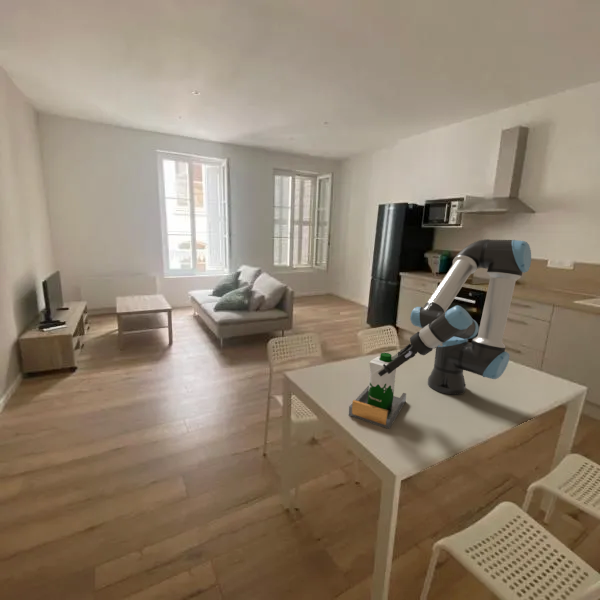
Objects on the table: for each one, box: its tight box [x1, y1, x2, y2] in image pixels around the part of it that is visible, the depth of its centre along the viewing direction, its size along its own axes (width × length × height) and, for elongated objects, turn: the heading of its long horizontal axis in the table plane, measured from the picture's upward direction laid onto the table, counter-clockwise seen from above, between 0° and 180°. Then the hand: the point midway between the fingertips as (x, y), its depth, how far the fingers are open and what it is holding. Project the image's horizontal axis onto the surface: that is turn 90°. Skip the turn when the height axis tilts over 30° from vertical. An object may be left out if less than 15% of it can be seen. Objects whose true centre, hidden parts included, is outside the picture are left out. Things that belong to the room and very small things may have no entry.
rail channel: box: [348, 385, 407, 430], centre depth 122 cm, size 22×15×6 cm
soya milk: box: [367, 352, 397, 410], centre depth 120 cm, size 9×9×20 cm
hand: (379, 371), depth 119 cm, fingers open, 13 cm apart
